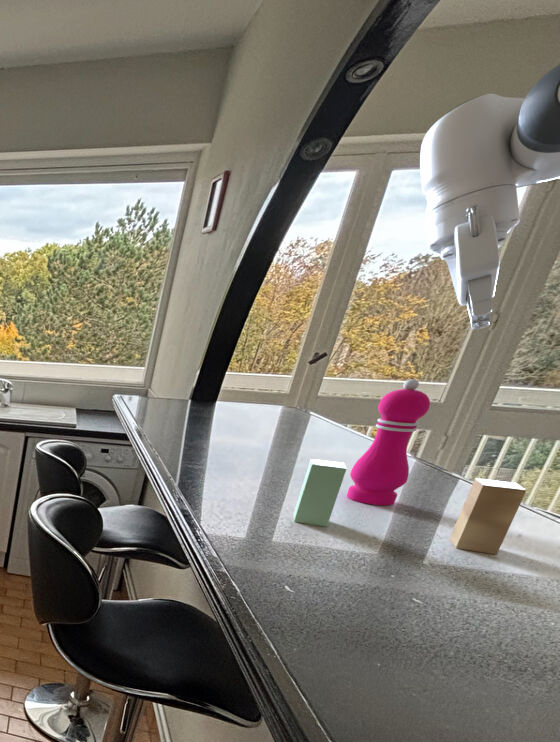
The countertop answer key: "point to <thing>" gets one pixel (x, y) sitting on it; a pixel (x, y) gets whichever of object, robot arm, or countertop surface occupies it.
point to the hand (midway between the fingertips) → (481, 321)
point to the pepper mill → (389, 447)
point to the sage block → (319, 492)
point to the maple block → (487, 515)
